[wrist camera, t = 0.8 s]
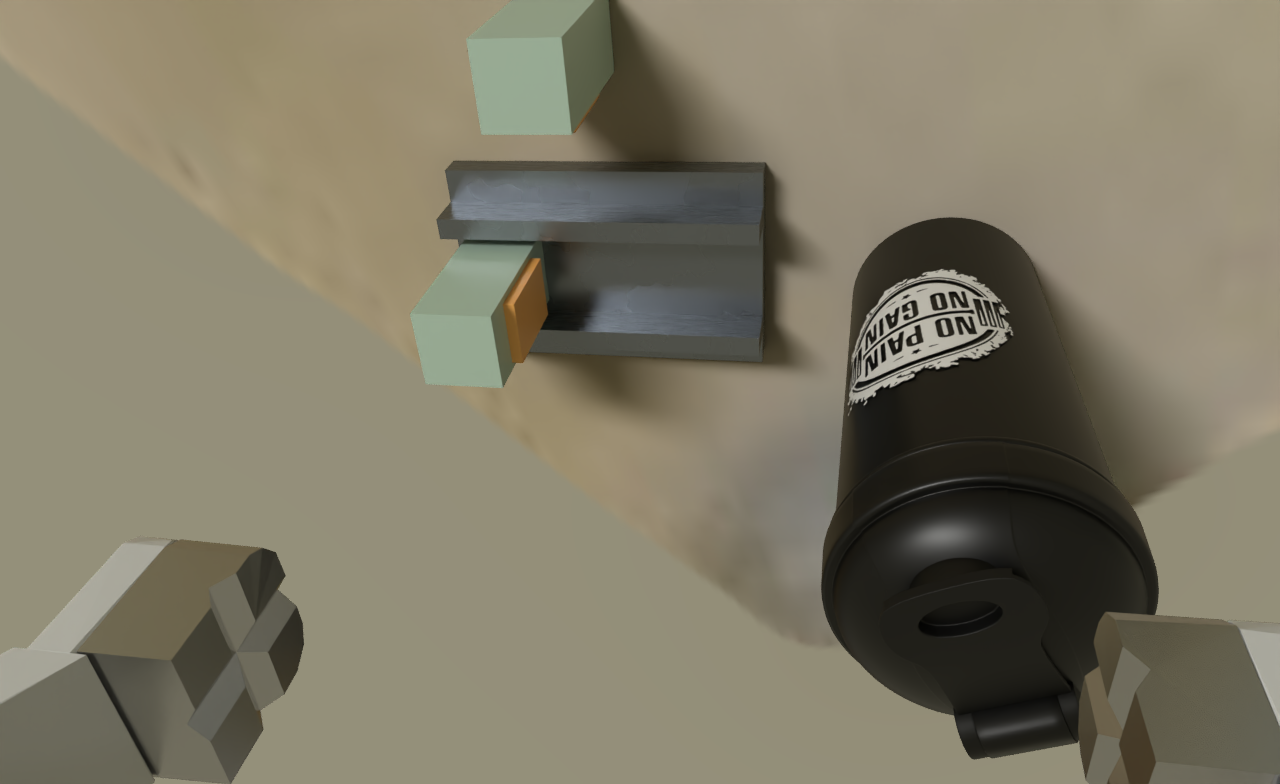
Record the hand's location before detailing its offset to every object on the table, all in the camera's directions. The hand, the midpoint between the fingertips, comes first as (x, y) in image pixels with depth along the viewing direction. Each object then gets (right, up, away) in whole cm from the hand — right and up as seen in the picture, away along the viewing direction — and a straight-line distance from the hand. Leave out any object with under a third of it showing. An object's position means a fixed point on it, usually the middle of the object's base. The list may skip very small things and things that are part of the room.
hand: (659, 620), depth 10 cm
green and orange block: (-7, +9, +39) cm, 41 cm away
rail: (-2, +9, +40) cm, 41 cm away
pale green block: (-3, +18, +34) cm, 38 cm away
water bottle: (+14, +7, +38) cm, 41 cm away
